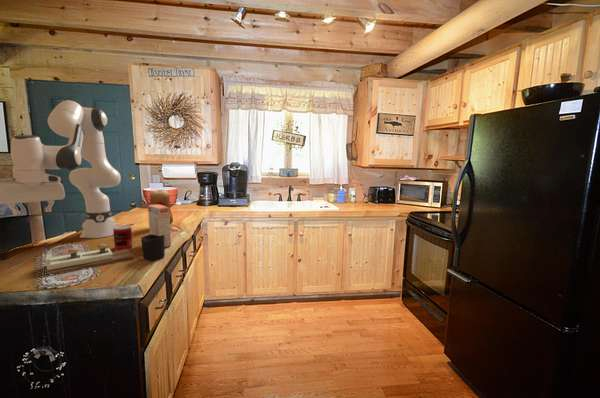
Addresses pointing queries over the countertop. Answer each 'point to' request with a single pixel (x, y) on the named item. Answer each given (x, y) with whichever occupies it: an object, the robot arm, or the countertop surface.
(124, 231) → the canned food
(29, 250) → the countertop surface
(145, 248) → the pen holder
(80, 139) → the robot arm
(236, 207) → the countertop surface
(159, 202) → the butternut squash
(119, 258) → the board
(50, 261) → the panel
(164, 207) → the cracker box
